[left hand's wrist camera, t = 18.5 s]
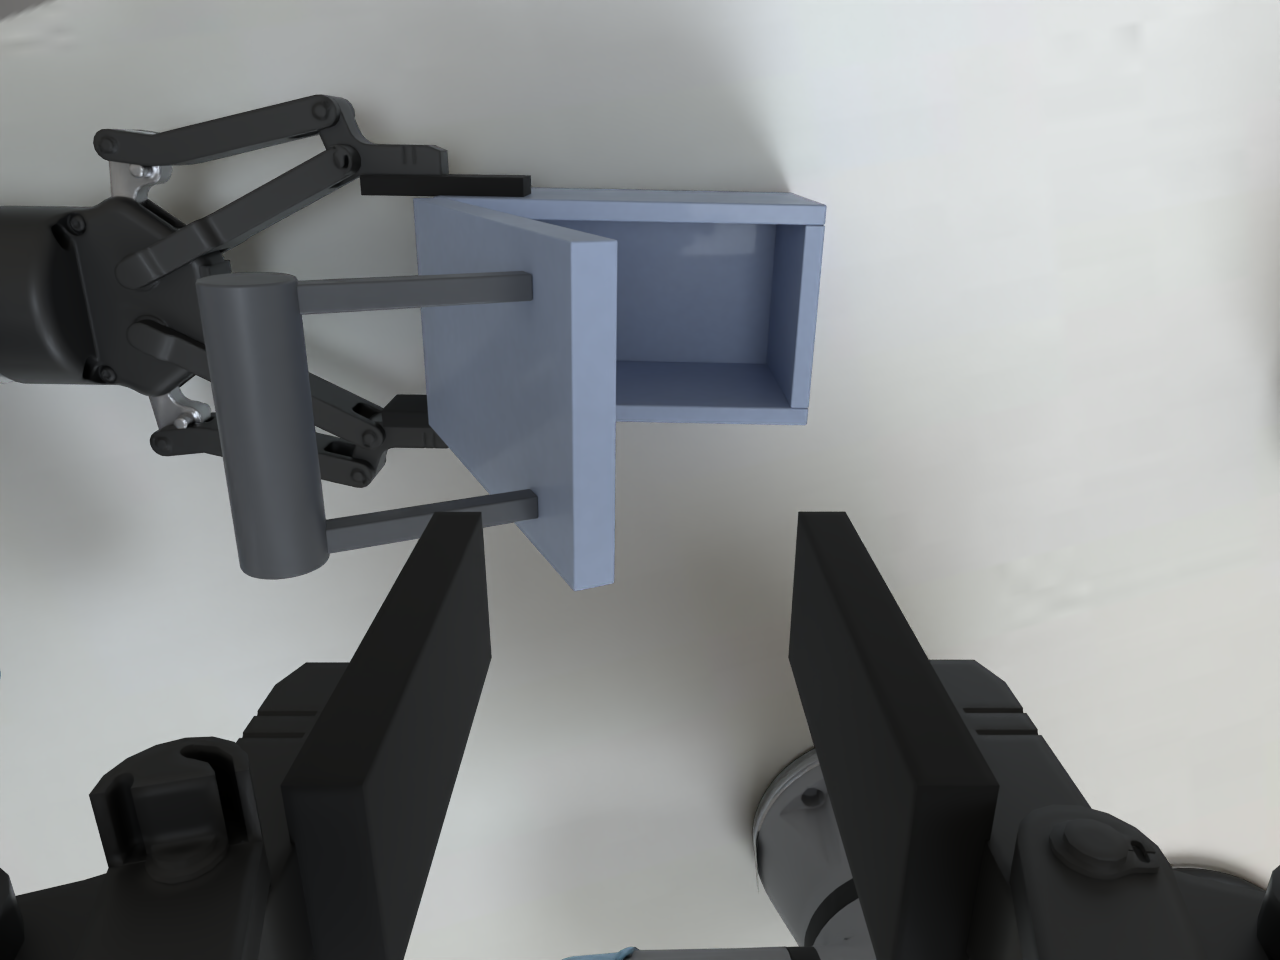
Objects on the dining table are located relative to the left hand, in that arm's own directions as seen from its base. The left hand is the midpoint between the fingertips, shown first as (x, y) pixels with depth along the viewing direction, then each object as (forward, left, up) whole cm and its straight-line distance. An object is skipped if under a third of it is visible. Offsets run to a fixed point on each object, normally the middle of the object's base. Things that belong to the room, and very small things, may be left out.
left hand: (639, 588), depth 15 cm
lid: (+4, 0, -16) cm, 16 cm away
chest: (0, 0, -32) cm, 32 cm away
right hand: (+5, 0, -26) cm, 26 cm away
